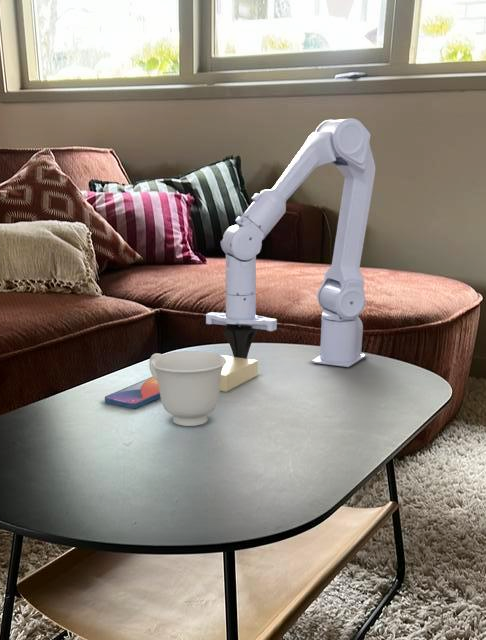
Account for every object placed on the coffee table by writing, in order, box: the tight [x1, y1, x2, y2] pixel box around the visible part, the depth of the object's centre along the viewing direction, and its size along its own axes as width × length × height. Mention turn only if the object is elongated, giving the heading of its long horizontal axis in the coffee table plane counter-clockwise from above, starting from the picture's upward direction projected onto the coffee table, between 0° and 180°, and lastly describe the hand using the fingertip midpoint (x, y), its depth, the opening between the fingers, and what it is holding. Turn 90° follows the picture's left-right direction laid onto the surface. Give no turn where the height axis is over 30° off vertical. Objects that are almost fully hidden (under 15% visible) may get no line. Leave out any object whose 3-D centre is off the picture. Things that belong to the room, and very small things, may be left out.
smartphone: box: [104, 376, 161, 409], centre depth 137 cm, size 7×15×1 cm, turn 145°
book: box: [219, 354, 259, 392], centre depth 144 cm, size 12×9×3 cm
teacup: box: [148, 350, 227, 427], centre depth 123 cm, size 12×15×10 cm
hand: (240, 363), depth 150 cm, fingers closed, pressing on book
